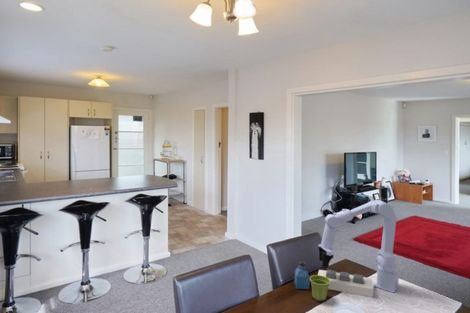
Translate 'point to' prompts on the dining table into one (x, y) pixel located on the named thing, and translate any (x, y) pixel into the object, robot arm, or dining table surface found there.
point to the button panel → (350, 285)
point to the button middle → (344, 276)
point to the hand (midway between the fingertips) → (322, 263)
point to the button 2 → (358, 279)
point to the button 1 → (331, 274)
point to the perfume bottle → (301, 277)
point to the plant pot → (319, 286)
